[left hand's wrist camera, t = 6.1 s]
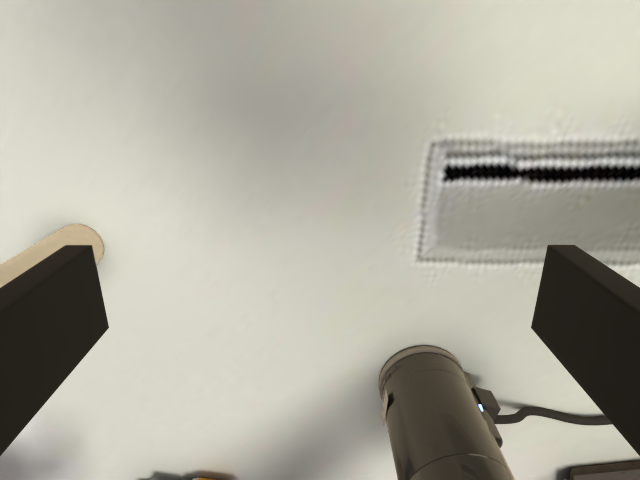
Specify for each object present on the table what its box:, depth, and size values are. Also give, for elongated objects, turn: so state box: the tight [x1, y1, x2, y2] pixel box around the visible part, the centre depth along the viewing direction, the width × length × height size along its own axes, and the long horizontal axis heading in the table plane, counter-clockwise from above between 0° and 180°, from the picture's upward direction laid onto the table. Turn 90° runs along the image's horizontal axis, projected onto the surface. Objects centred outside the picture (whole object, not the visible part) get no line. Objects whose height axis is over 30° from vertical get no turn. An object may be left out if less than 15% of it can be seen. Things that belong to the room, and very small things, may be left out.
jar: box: [0, 224, 104, 288], centre depth 35 cm, size 5×5×15 cm
